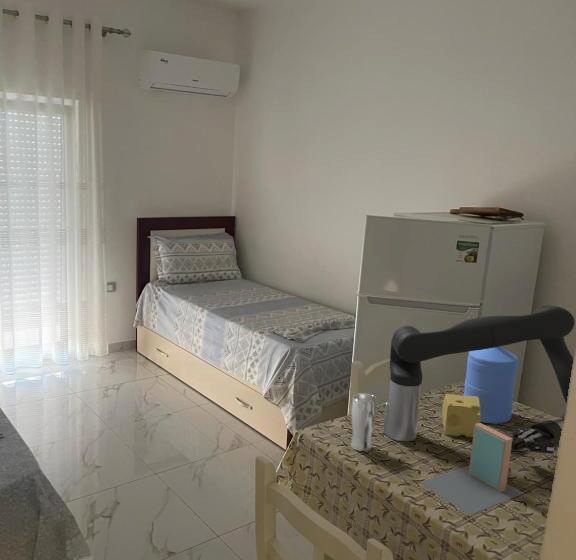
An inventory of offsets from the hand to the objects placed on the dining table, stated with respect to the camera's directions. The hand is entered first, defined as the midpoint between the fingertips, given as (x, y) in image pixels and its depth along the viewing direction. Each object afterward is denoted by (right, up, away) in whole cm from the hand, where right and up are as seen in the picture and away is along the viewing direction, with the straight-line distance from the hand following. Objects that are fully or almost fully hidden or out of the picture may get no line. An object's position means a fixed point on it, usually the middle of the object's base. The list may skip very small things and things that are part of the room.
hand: (512, 446), depth 151 cm
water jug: (+7, -1, +40) cm, 41 cm away
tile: (-8, -8, -3) cm, 12 cm away
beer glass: (-38, -4, +14) cm, 41 cm away
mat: (-13, -9, -6) cm, 17 cm away
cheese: (-6, -3, +28) cm, 28 cm away
